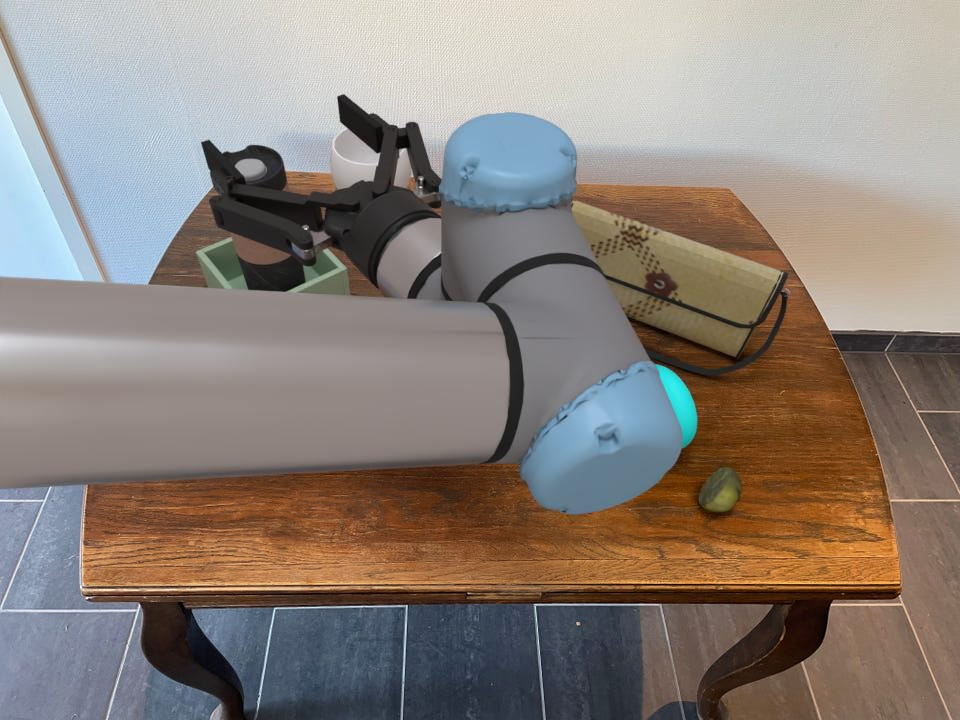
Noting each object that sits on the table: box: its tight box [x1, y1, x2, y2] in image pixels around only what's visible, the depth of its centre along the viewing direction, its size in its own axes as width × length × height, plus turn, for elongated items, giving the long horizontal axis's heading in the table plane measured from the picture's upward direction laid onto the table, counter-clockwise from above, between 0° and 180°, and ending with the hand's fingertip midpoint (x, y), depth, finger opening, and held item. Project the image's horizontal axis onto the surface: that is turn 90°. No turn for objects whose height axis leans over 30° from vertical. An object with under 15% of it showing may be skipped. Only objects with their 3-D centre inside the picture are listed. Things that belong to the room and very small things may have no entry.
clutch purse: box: [571, 198, 791, 377], centre depth 85 cm, size 30×7×15 cm, turn 63°
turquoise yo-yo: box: [654, 363, 698, 449], centre depth 76 cm, size 10×10×10 cm
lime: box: [698, 466, 743, 513], centre depth 74 cm, size 4×5×5 cm
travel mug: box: [221, 144, 306, 292], centre depth 83 cm, size 8×8×20 cm
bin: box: [195, 236, 351, 296], centre depth 89 cm, size 14×14×7 cm
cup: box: [329, 127, 412, 190], centre depth 95 cm, size 11×11×15 cm
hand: (278, 129), depth 64 cm, fingers open, 13 cm apart
